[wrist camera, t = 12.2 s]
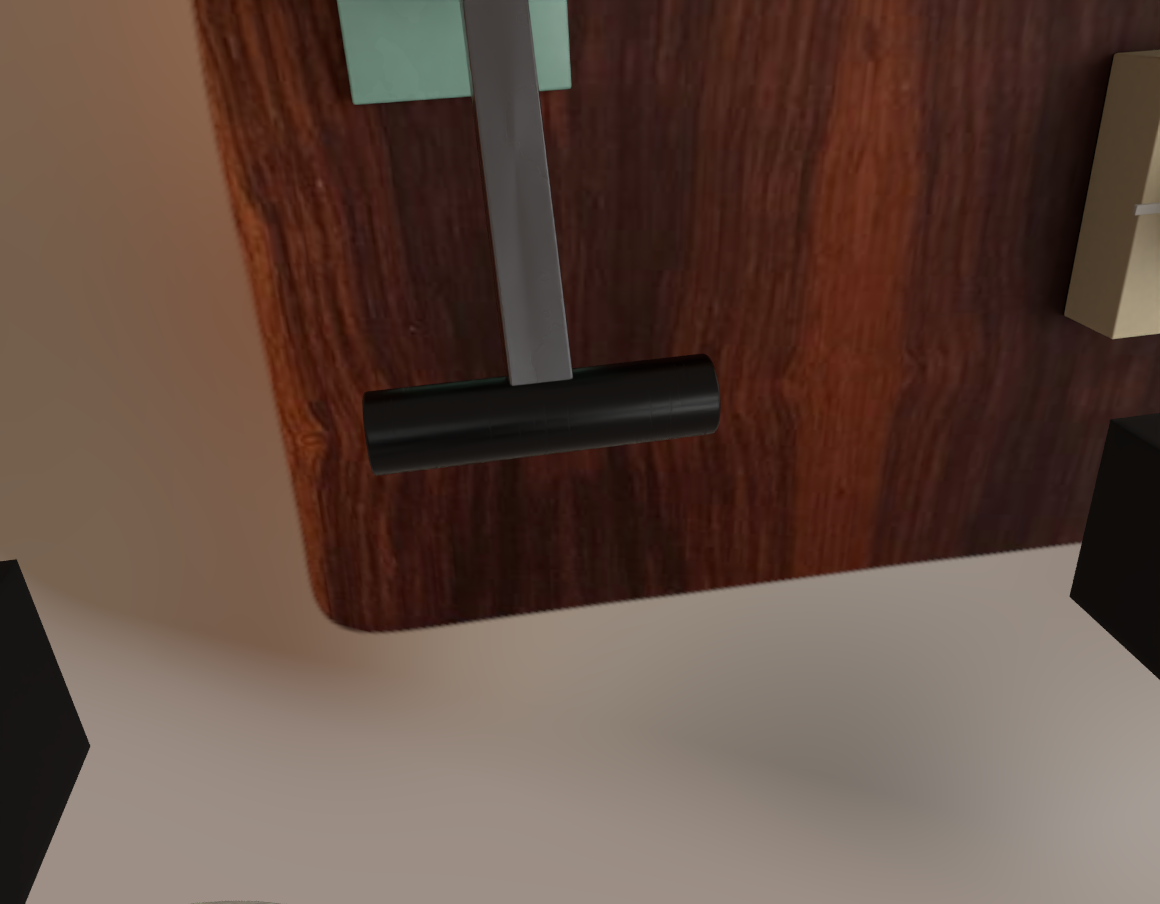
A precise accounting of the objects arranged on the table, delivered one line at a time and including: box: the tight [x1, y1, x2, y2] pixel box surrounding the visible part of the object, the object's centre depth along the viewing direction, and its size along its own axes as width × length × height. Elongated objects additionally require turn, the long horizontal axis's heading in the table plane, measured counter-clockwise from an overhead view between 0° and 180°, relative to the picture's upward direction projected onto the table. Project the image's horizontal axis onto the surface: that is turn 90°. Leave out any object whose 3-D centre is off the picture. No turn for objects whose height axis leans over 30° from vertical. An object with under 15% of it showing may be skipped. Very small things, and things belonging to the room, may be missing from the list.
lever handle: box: [362, 0, 720, 475], centre depth 16 cm, size 12×6×2 cm, turn 3°
